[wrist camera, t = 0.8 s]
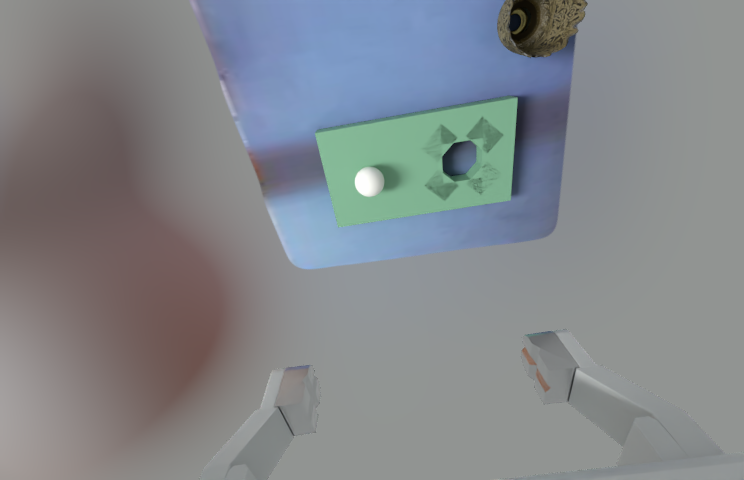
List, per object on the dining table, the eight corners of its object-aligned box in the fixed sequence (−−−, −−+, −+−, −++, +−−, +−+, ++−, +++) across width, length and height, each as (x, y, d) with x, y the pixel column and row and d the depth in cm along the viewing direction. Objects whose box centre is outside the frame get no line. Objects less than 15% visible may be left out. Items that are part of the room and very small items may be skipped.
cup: (553, -18, 35) (600, -38, 28) (536, 58, 38) (574, 57, 31) (487, -17, 35) (519, -37, 28) (477, 59, 38) (502, 57, 31)
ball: (352, 165, 42) (351, 174, 39) (381, 160, 42) (383, 169, 38) (357, 192, 44) (357, 203, 41) (385, 188, 44) (387, 198, 40)
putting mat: (317, 129, 42) (314, 133, 40) (509, 95, 40) (517, 97, 38) (339, 220, 49) (338, 227, 47) (503, 194, 47) (510, 200, 45)
